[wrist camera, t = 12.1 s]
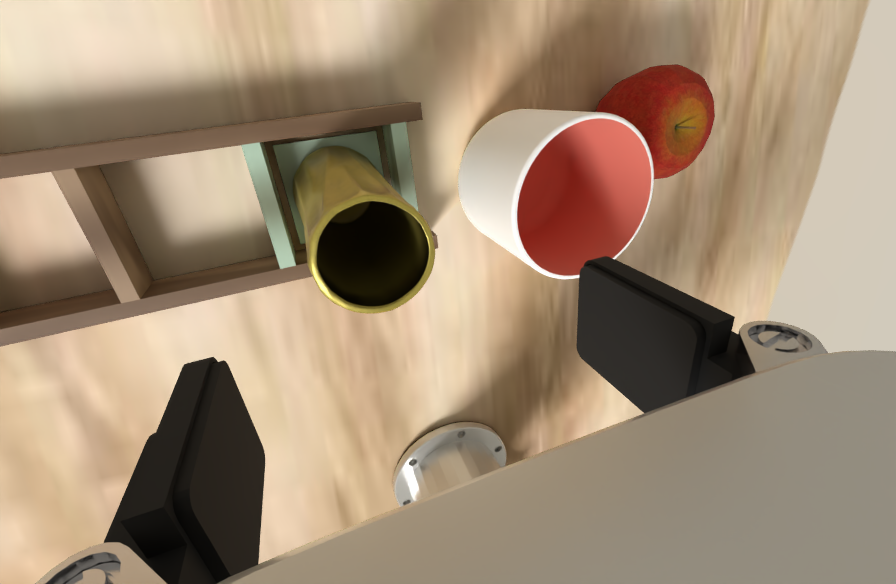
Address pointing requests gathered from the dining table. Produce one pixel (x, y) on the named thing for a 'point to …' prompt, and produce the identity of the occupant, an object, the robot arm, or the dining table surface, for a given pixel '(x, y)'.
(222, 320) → the dining table surface
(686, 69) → the apple
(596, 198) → the cup
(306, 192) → the vase
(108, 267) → the wooden compartment tray
